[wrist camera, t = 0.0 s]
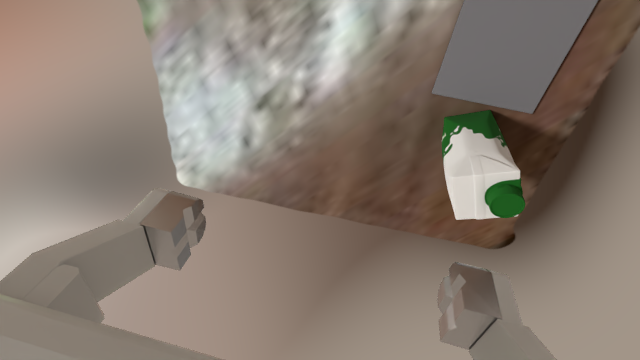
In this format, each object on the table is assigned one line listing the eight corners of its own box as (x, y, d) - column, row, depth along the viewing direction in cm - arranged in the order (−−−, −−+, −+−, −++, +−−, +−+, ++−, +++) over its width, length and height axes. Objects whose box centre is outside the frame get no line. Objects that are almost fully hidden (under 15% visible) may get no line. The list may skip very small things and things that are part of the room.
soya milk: (496, 149, 59) (527, 230, 43) (442, 156, 62) (452, 234, 46) (496, 103, 54) (530, 175, 38) (437, 113, 57) (447, 184, 41)
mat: (474, -28, 44) (474, -27, 44) (600, -6, 43) (601, -6, 43) (431, 92, 55) (431, 93, 55) (531, 112, 54) (532, 113, 53)
